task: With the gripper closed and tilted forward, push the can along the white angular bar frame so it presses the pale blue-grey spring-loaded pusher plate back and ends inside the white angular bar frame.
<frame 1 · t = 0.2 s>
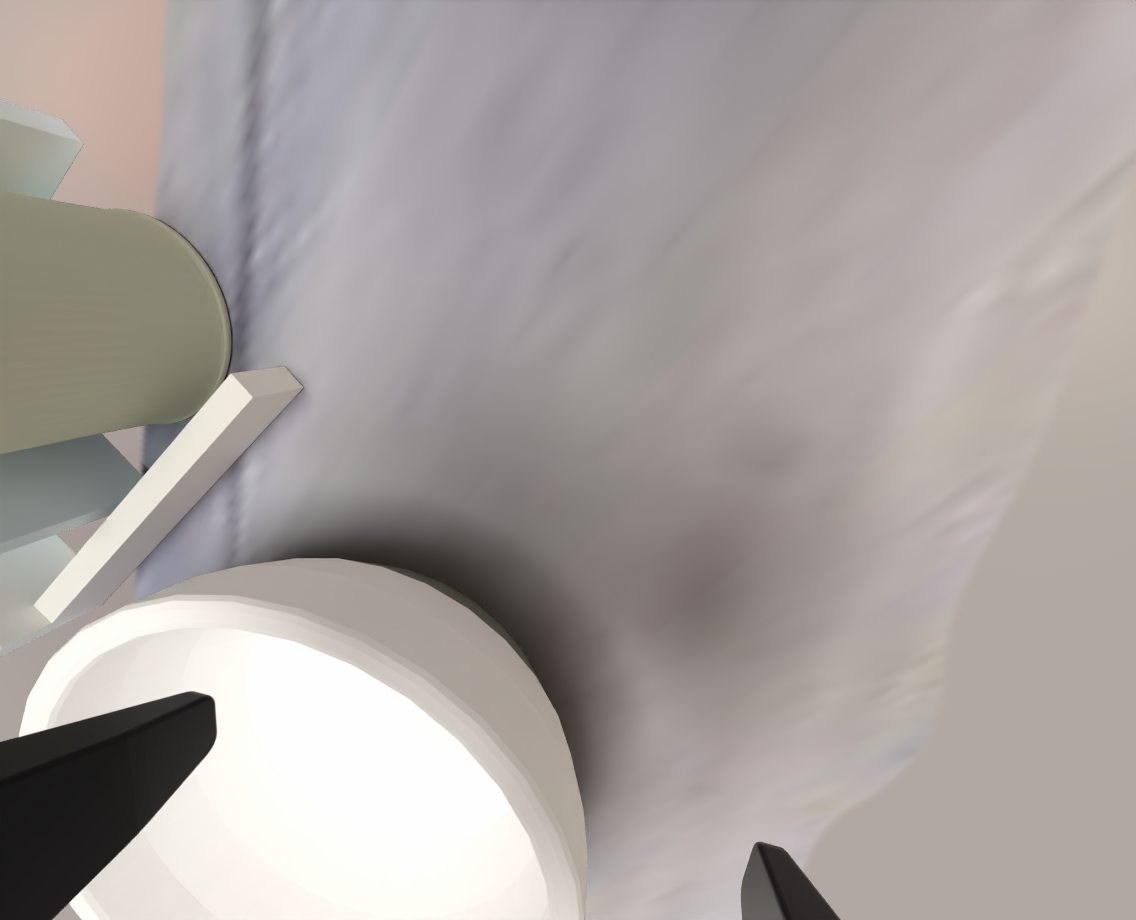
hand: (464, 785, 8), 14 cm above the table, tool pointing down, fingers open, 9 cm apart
bowl: (392, 710, 27), on the table
white angular bar frame: (86, 392, 25), on the table
can: (145, 321, 24), on the table
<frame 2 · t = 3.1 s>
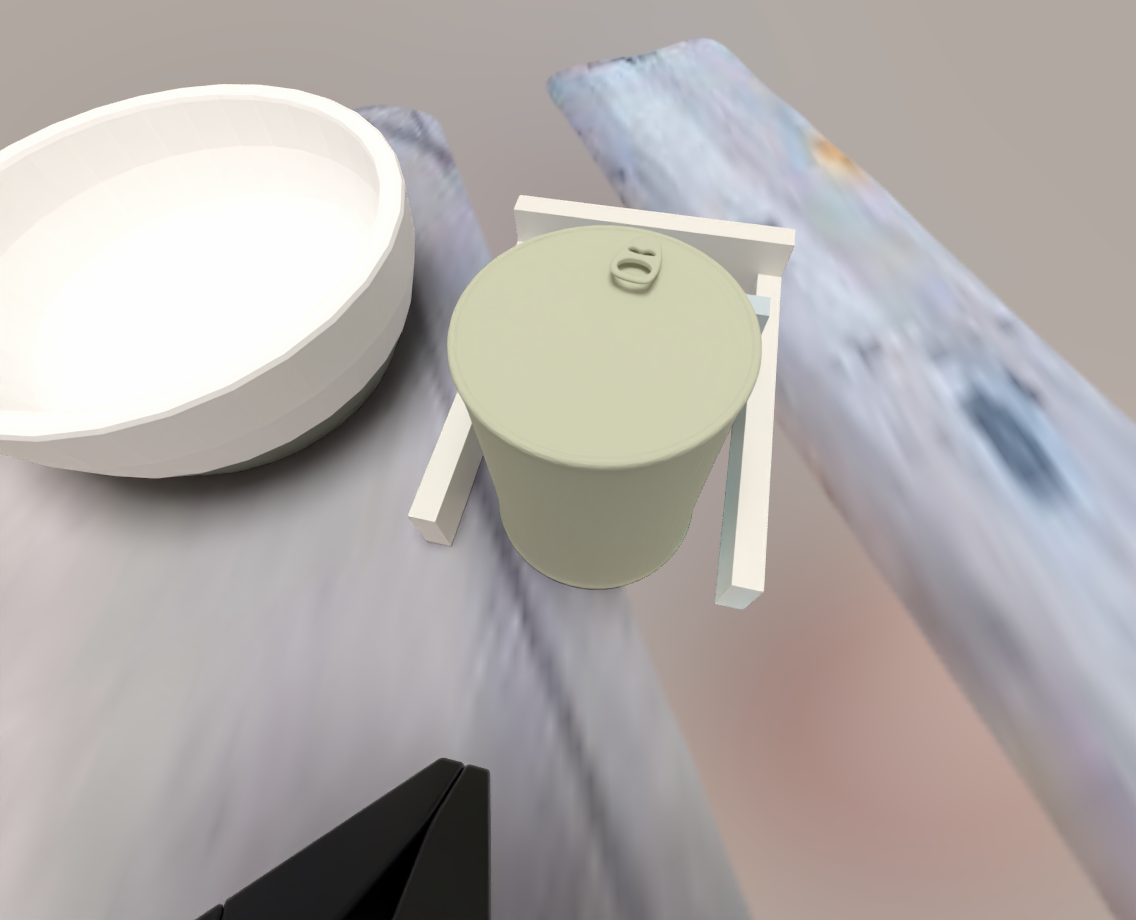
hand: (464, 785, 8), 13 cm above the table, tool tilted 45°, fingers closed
bowl: (254, 347, 31), on the table
white angular bar frame: (615, 409, 28), on the table
can: (595, 496, 26), on the table
pusher: (623, 343, 25), point 4 cm above the table, slide at 0.0 cm
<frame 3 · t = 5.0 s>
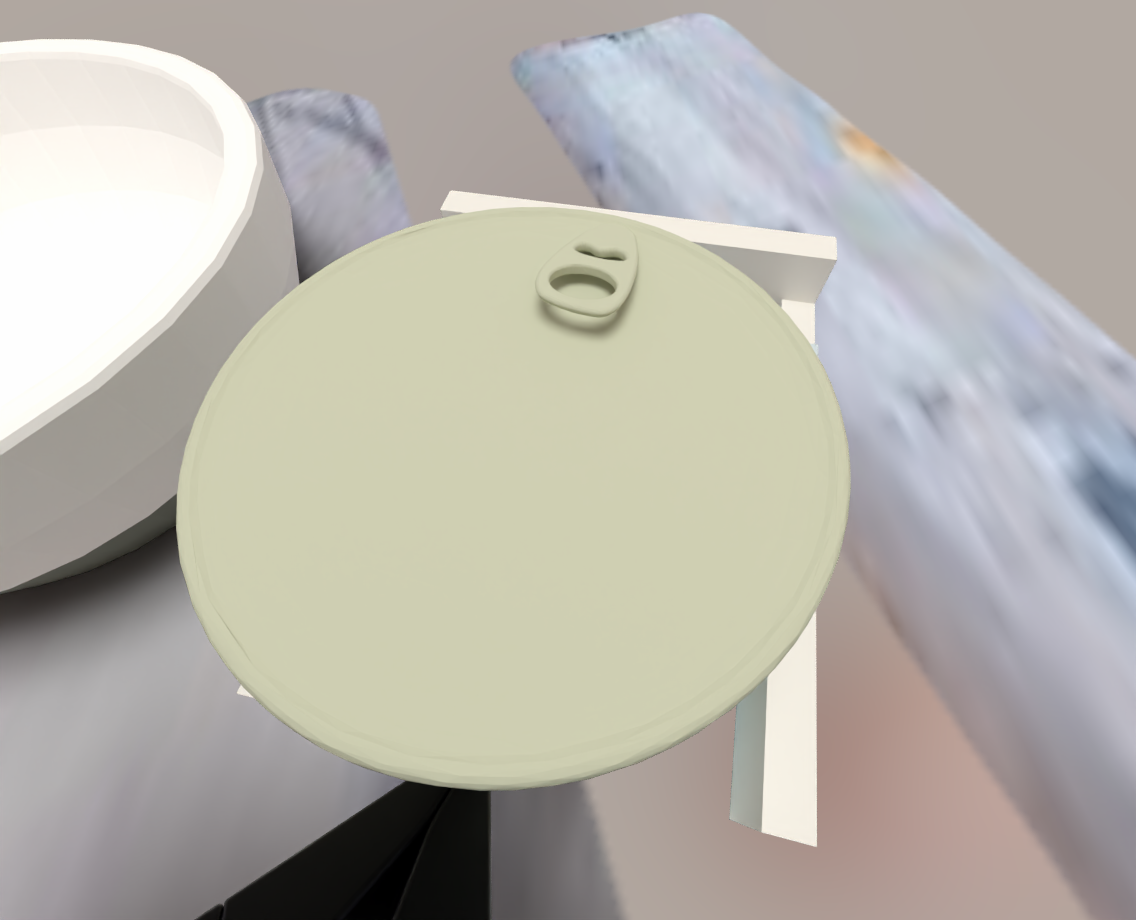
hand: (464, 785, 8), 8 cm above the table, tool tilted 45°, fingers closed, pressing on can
bowl: (95, 397, 23), on the table
white angular bar frame: (582, 490, 20), on the table
can: (552, 614, 18), on the table, touching gripper
pusher: (589, 405, 17), point 4 cm above the table, slide at 0.0 cm
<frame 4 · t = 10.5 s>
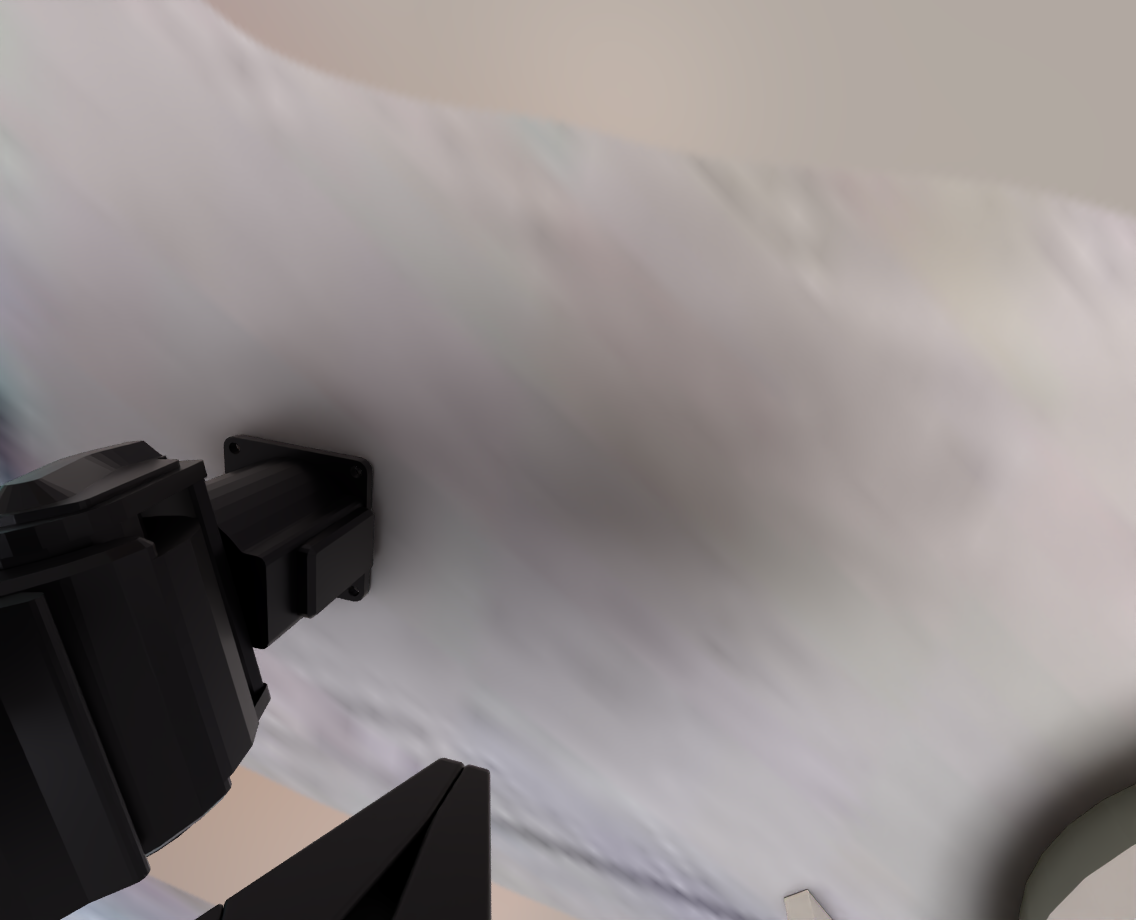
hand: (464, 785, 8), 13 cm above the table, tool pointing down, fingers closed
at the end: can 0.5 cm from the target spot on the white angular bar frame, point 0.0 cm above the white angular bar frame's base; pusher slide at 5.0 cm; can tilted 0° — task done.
